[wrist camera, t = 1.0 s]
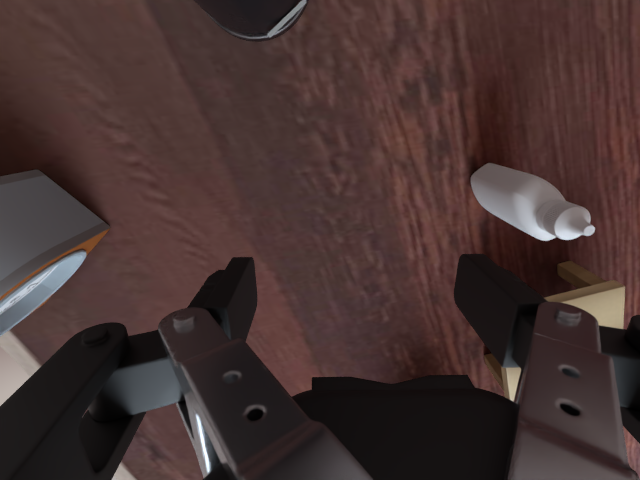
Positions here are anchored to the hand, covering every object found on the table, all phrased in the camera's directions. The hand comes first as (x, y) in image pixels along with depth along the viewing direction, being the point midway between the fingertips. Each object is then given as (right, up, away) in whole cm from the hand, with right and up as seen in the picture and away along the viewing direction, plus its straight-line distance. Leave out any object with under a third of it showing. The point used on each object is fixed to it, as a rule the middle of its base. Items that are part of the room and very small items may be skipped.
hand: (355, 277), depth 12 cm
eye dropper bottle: (+16, +7, +19) cm, 25 cm away
